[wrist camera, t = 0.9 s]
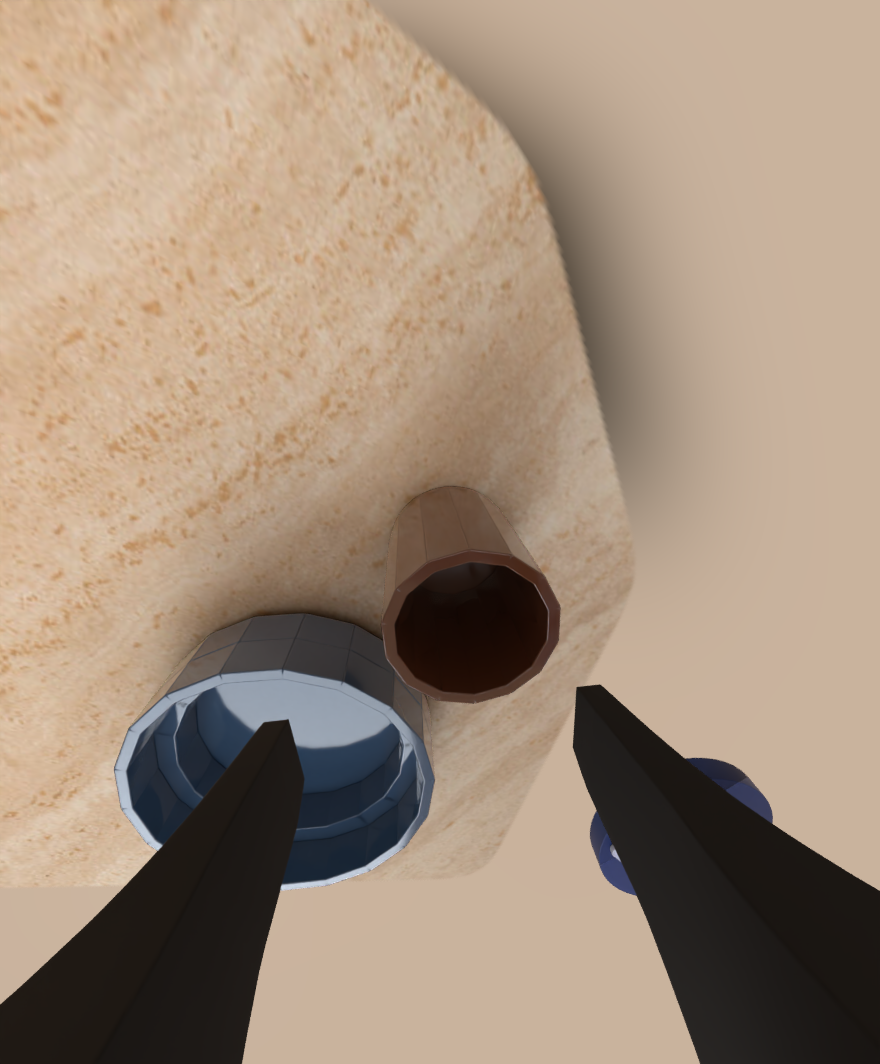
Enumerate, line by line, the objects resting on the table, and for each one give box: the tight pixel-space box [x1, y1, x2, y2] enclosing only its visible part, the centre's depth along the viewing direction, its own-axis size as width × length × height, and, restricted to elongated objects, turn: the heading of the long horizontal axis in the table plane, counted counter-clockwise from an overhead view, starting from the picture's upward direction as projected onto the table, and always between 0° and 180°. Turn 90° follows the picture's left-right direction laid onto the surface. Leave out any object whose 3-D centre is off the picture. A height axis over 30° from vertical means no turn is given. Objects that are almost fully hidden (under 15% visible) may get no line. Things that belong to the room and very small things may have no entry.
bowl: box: [114, 613, 435, 890], centre depth 20 cm, size 13×13×4 cm
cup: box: [381, 486, 561, 704], centre depth 16 cm, size 5×6×7 cm
